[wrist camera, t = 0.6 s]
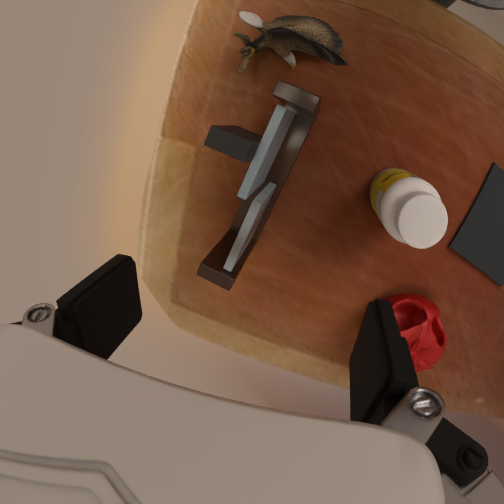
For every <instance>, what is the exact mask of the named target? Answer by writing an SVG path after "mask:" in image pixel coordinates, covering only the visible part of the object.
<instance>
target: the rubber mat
mask: <svg viewBox="0 0 504 504" xmlns="http://www.w3.org/2000/svg"><path fill="white" fill-rule="evenodd" d="M448 246H449V247H450V248H451V249H453V250H454V251H455V252H457V253H458V254H460V255H461V256H462V257H464V258H465V259H466V260H468V261H469V262H470V263H472V264H473V265H475V266H476V267H477V268H478V269H480V270H481V271H482V272H484V273H485V274H486V275H488V276H489V277H490V278H491V279H493V280H494V281H495V282H496V283H498V284H499V285H500V286H501V287H502V286H503V285H504V171H503V170H502V169H501V168H500V167H499V166H498V165H497V164H496V163H494V162H493V164H492V166H491V169H490V171H489V173H488V175H487V177H486V179H485V181H484V183H483V185H482V187H481V189H480V191H479V193H478V195H477V197H476V199H475V201H474V203H473V204H472V206H471V208H470V210H469V212H468V214H467V215H466V217H465V219H464V221H463V222H462V224H461V226H460V227H459V229H458V231H457V232H456V234H455V236H454V237H453V239H452V241H451V242H450V244H449V245H448Z"/></svg>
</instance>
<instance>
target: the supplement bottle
mask: <svg viewBox="0 0 504 504" xmlns="http://www.w3.org/2000/svg"><path fill="white" fill-rule="evenodd" d="M369 196H370V202H371V205H372V207H373V209H374V211H375V212H376V214H377V216H378V217H379V219H380V221H381V222H382V224H383V226H384V227H385V229H386V230H387V232H388V233H389V234H390V235H391V236H392V237H393V238H394V239H396V240H398V241H400V242H402V243H406V244H408V245H410V246H412V247H414V248H419V249H424V248H428V247H431V246H433V245H435V244H436V243H437V242H438V241H439V240H440V239H441V238H442V237H443V235H444V233H445V231H446V228H447V223H448V216H447V212H446V209H445V207H444V205H443V204H442V202H441V199H440V196H439V194H438V192H437V191H436V189H435V188H434V187H433V186H432V185H431V184H429V183H428V182H427V181H425V180H423V179H421V178H419V177H417V176H415V175H414V174H412V173H410V172H408V171H406V170H403V169H400V168H389V169H386V170H383V171H382V172H380V173H379V174H378V175H377V176H376V177H375V178H374V180H373V181H372V184H371V187H370V192H369Z"/></svg>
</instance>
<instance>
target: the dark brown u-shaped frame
mask: <svg viewBox="0 0 504 504" xmlns="http://www.w3.org/2000/svg"><path fill="white" fill-rule="evenodd" d="M272 95H273V96H274V97H275V98H277V99H278V100H280V101H281V102H282V103H284V104H285V107H286V108H287V109H289V110H290V111H292V112H293V113H295V117H294V119H293V121H292V123H291V125H290V127H289V129H288V131H287V134H286V136H285V138H284V140H283V142H282V144H281V147H280V149H279V151H278V153H277V155H276V157H275V160H274V162H273V164H272V166H271V168H270V170H269V173H268V175H267V177H266V179H265V181H264V182H263V183H262V184H261V185H260V186H259V187H258V188H257V189H256V190H255V191H254V192H253V193H252V194H251V195H250V196H249V197H248V198H247V199H246V200H244V199H243V200H242V203H241V205H240V207H239V210H238V212H237V214H236V217H235V219H234V221H233V224H232V226H231V228H230V230H229V231H228V232H227V233H226V234H225V235H224V237H223V238H222V239H221V240H220V241H219V242H218V243H217V245H216V246H215V247H214V248H213V249H212V250H211V252H210V253H209V254H208V255H207V256H206V257H205V259H204V260H203V261H202V262H201V263H200V266H199V268H198V271H197V275H199V276H201V277H203V278H205V279H207V280H209V281H210V282H212V283H214V284H216V285H218V286H220V287H222V288H224V289H226V290H228V291H229V290H230V289H231V287H232V285H233V283H234V282H235V280H236V278H237V276H238V275H239V273H240V271H241V269H242V267H243V266H244V264H245V262H246V260H247V259H248V257H249V255H250V253H251V251H252V250H253V248H254V246H255V244H256V242H257V240H258V238H259V236H260V234H261V231H262V229H263V227H264V225H265V223H266V221H267V219H268V217H269V215H270V213H271V211H272V209H273V206H274V204H275V202H276V200H277V198H278V196H279V194H280V192H281V190H282V188H283V186H284V183H285V181H286V179H287V177H288V175H289V173H290V171H291V169H292V167H293V165H294V163H295V161H296V158H297V156H298V154H299V152H300V150H301V148H302V146H303V144H304V142H305V140H306V138H307V136H308V133H309V131H310V129H311V127H312V125H313V123H314V121H315V119H316V117H317V115H318V113H319V110H320V100H321V98H320V97H319V96H317V95H314V94H312V93H310V92H308V91H306V90H303V89H301V88H299V87H296V86H294V85H292V84H289V83H287V82H284V81H282V80H278V81H277V83H276V85H275V87H274V89H273V92H272Z"/></svg>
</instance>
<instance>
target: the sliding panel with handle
mask: <svg viewBox="0 0 504 504" xmlns="http://www.w3.org/2000/svg"><path fill="white" fill-rule="evenodd" d="M294 117H295V113H293V112H292V111H290V110H289V109H287V108H286V107H284V106H281V105H279V104H277V106H276V108H275V111H274V113H273V115H272V117H271V119H270V121H269V124H268V126H267V128H266V130H265V133H264V135H263V137H262V136H260V135H258V134H255V133H253V132H251V131H248V130H246V129H244V128H241V127H239V126H215V125H212V126H211V128H210V130H209V133H208V135H207V138H206V141H205V143H204V145H205V146H208V147H210V148H212V149H215V150H217V151H219V152H222V153H224V154H226V155H229V156H231V157H233V158H236V159H238V160H240V161H242V162H244V163H246V162H248V161H250V160H252V159H253V160H252V162H251V164H250V166H249V169H248V171H247V173H246V176H245V178H244V180H243V183H242V185H241V187H240V190H239V192H238V194H237V196H238V197H240V198H242V199H244V200H246V199H247V198H248V197H249V196H250V195H251V194H252V193H253V192H254V191H255V190H256V189H257V188H258V187H259V186H260V185H261V184H262V183H263V182H264V181H265V179H266V177H267V175H268V173H269V170H270V168H271V166H272V164H273V162H274V160H275V157H276V155H277V153H278V151H279V149H280V147H281V144H282V142H283V140H284V138H285V136H286V134H287V131H288V129H289V127H290V125H291V123H292V121H293V119H294Z"/></svg>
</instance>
